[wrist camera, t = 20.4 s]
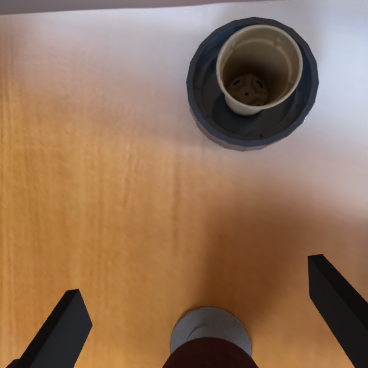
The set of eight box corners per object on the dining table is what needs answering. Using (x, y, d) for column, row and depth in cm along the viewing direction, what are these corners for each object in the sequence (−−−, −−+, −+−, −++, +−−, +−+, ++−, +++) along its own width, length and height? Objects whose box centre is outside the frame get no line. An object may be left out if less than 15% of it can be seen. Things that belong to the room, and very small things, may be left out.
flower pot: (202, 109, 36) (201, 85, 27) (232, 52, 35) (241, 9, 27) (258, 138, 35) (275, 123, 26) (290, 80, 34) (318, 46, 26)
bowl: (167, 95, 37) (161, 81, 32) (248, 18, 36) (255, -10, 31) (240, 174, 36) (246, 173, 31) (325, 97, 35) (347, 82, 30)
